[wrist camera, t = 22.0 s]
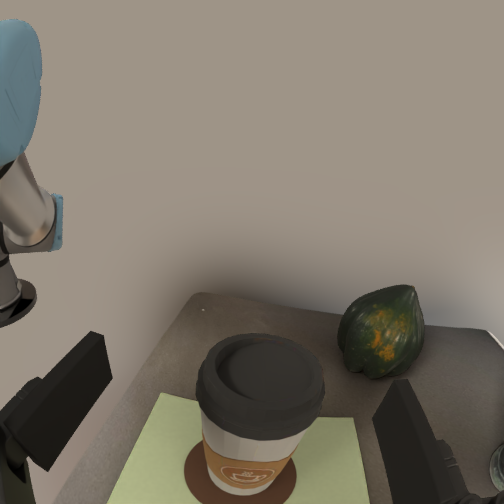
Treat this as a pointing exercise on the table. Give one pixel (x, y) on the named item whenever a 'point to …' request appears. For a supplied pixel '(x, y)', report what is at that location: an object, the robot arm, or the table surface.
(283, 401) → the coffee cup
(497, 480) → the bowl
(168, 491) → the place mat
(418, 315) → the squash
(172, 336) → the table surface
